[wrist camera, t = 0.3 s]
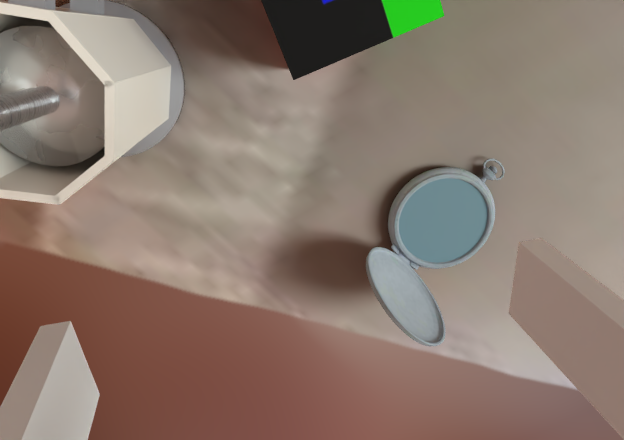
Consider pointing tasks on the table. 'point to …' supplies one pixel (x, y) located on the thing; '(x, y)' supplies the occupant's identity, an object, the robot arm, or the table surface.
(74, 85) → the plunger
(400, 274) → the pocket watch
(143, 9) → the table surface
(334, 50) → the puzzle toy
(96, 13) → the jug
